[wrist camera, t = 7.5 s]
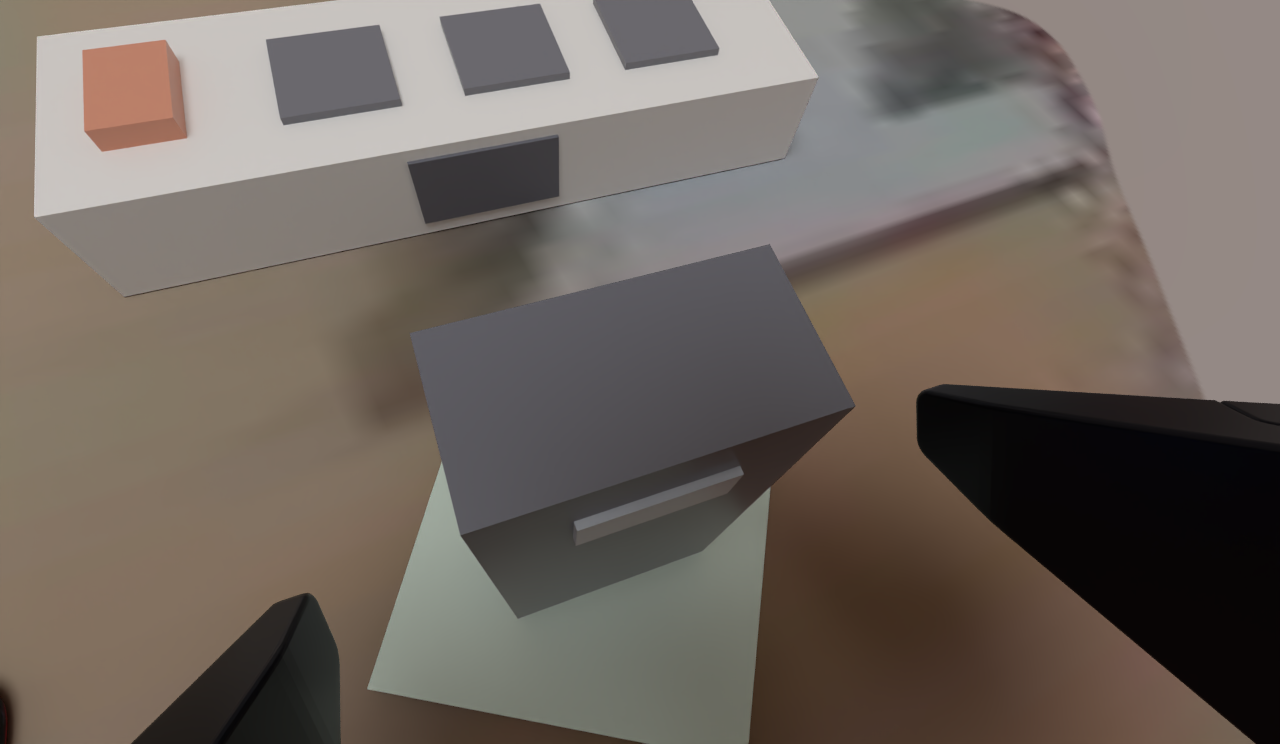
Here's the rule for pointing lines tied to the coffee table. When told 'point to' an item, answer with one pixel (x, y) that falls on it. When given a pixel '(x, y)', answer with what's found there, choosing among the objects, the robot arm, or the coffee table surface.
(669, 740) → the felt coaster
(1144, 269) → the coffee table surface
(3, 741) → the handheld game console
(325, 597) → the coffee table surface
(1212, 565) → the robot arm
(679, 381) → the brick
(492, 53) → the power strip
